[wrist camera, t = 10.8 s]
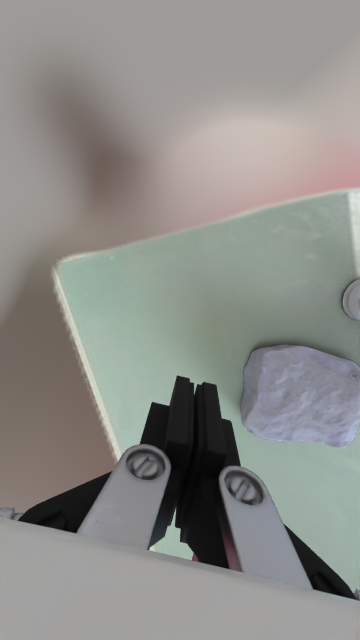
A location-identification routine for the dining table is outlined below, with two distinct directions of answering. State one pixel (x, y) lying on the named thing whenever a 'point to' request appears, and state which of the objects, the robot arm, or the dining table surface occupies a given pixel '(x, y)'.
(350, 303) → the rook chess piece
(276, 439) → the stone block
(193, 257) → the dining table surface
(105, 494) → the robot arm
